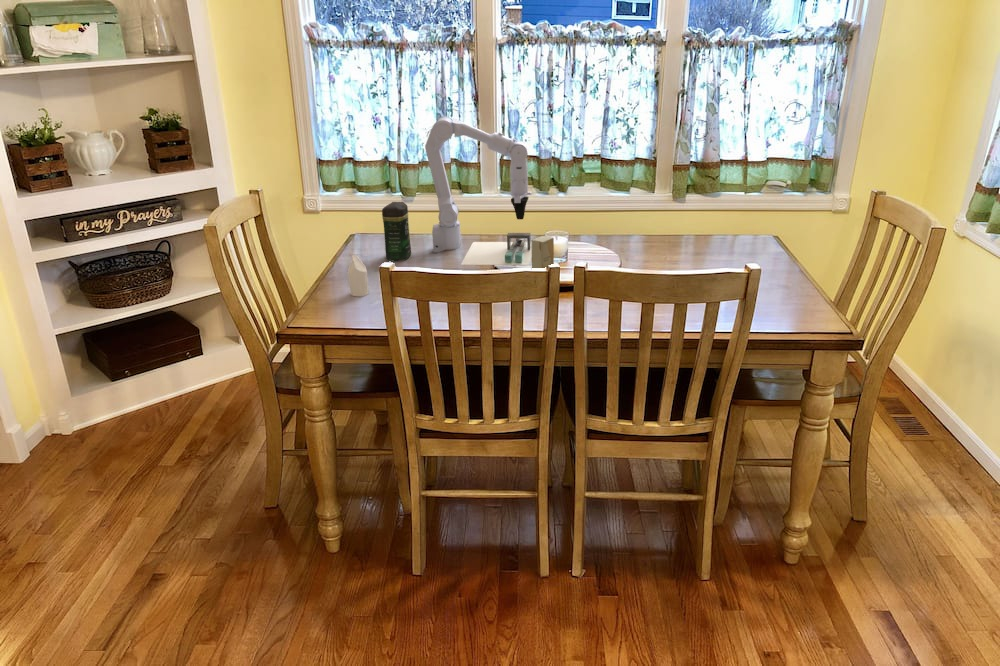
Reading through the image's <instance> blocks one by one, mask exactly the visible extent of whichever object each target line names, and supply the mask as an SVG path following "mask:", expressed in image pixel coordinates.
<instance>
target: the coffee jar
mask: <svg viewBox="0 0 1000 666" xmlns="http://www.w3.org/2000/svg"><path fill="white" fill-rule="evenodd" d="M408 209H409V207H408V205H407V204H406V203H405V202H403V201H392V202H391V203H389V204H387V205H386V206H384V207H383V208H382V210H381V216H382V222H383V233H384V234H383V235H384V245H385V246H384V247H385V248H384V249H385V250H384V251H385V258H386V260H389V259H391V260H389V261H392V260H394V261H393V262H398V261H405V260H408V259H409V257H410V256H411V255H412V246H411V245H412V244H411V238H410V237H411V235H410V226H409V225H410V224H409V210H408Z"/></svg>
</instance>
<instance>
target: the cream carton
mask: <svg viewBox="0 0 1000 666" xmlns="http://www.w3.org/2000/svg"><path fill="white" fill-rule="evenodd" d="M347 278H348V283H349V284H348V285H349V291H350V295H351V296H353V297H364V296H367V295H368V294H370V287H369V279H368V271H367V267H366V265H365V264H364V263H363V261H362V260H361V259H360V258H359V256H358V255H357V254H352V255H351V261H350V264H349V266H348V269H347Z"/></svg>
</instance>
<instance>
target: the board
mask: <svg viewBox="0 0 1000 666" xmlns="http://www.w3.org/2000/svg"><path fill="white" fill-rule="evenodd" d="M512 243H513V241H511V245H512ZM519 248H520V247H518V246H517V248H516V251H515V253H514V255H513V261H512V262H505V254H506V252H509V250H507V241H472V243H471V246H470V247H469V249H468V250H467V252H466V254H465V256H464V258H463V260H462V261H461V264H460V266H530V264H531V262H532V249H531V248H530V250H528V244H527V241H526V247H525V250H524V253H523V261H522V262H515V254H516V252H518V251H519Z"/></svg>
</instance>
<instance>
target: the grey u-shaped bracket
mask: <svg viewBox="0 0 1000 666" xmlns="http://www.w3.org/2000/svg"><path fill="white" fill-rule="evenodd" d="M517 238H524V239H526V242H527V244H528V250H530V248H531V240H532V239H531V232H508V233H507V234H506V242H507V250H510V247H511V242H512V241H511V239H517Z"/></svg>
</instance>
